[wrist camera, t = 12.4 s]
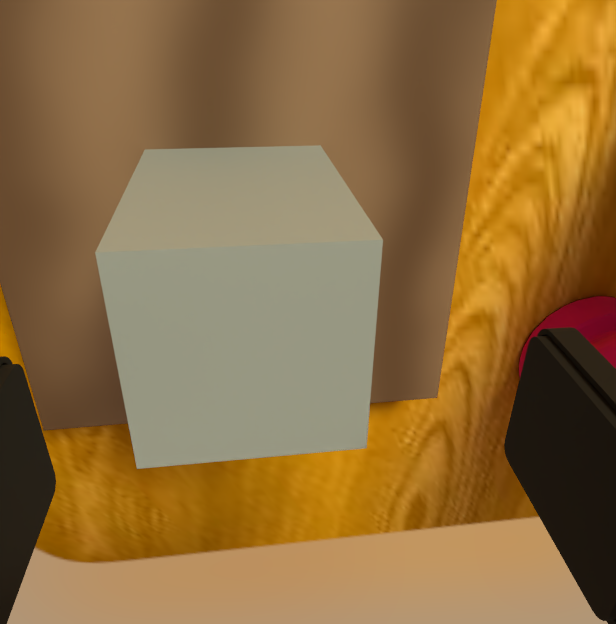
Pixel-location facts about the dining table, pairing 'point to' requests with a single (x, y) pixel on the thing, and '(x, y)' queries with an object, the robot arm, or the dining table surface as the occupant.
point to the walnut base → (225, 134)
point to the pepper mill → (585, 324)
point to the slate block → (241, 305)
